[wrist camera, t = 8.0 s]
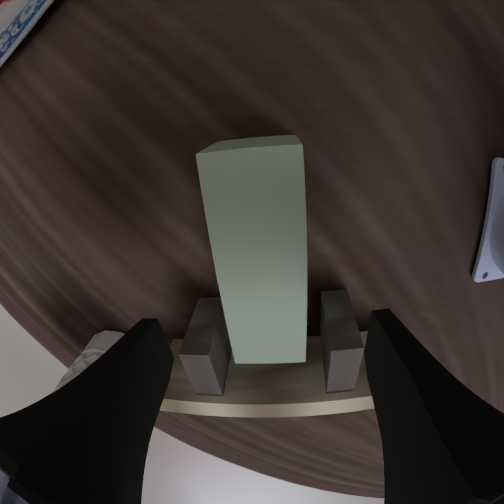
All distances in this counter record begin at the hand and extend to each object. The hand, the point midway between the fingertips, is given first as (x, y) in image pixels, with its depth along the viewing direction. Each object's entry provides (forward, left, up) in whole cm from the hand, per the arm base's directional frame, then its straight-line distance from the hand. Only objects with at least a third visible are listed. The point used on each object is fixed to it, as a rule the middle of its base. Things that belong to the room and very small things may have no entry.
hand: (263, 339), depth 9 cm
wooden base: (0, +5, -6) cm, 8 cm away
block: (0, -1, -7) cm, 7 cm away
